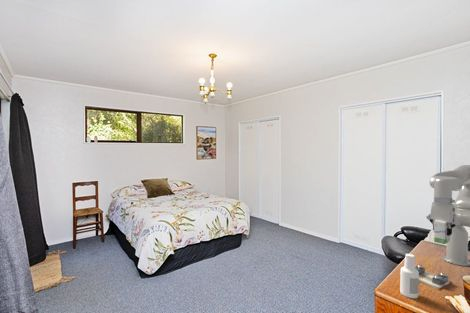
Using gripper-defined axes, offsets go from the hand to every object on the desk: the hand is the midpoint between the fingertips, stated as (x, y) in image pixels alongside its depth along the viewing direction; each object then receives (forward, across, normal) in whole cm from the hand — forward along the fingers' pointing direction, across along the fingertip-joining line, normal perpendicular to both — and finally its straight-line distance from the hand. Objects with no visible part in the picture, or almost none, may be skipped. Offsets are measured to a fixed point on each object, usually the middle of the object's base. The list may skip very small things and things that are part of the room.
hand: (442, 233), depth 137 cm
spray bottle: (+20, -4, +42) cm, 46 cm away
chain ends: (+20, -2, +18) cm, 27 cm away
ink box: (+5, 0, 0) cm, 5 cm away
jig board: (+20, -2, +18) cm, 27 cm away
